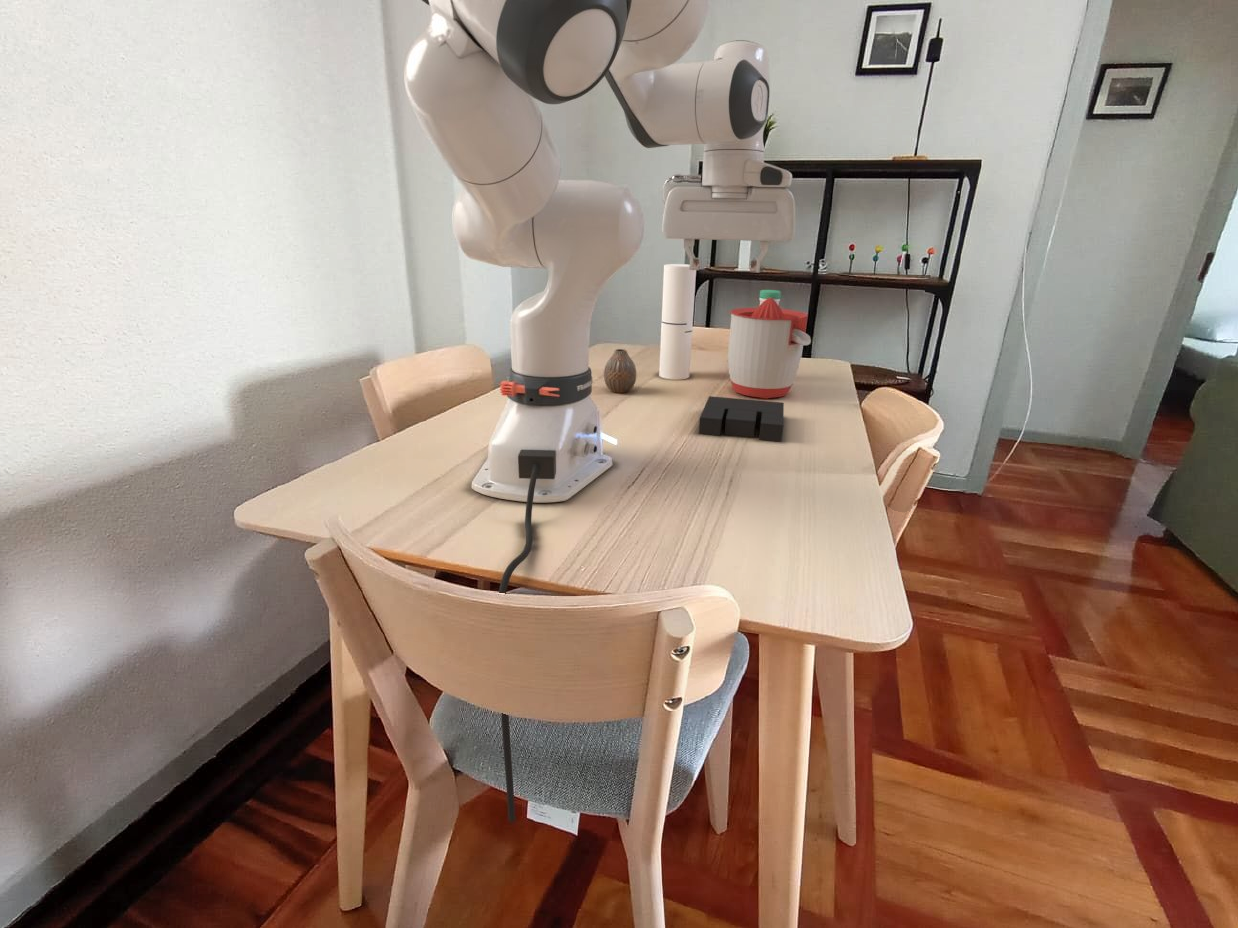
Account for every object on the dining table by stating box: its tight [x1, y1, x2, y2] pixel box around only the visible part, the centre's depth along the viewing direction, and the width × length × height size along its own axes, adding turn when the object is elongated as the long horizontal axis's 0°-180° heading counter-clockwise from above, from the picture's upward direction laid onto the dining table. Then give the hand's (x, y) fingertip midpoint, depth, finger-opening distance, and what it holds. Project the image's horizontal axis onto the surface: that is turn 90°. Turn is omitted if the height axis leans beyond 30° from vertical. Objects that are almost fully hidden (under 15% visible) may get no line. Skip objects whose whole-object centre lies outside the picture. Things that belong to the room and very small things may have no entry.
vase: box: [603, 348, 637, 394], centre depth 129 cm, size 7×7×9 cm
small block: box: [723, 409, 757, 439], centre depth 107 cm, size 6×5×3 cm
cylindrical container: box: [658, 263, 697, 381], centre depth 140 cm, size 7×7×25 cm
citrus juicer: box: [727, 298, 812, 400], centre depth 128 cm, size 16×17×20 cm
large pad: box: [698, 395, 785, 443], centre depth 110 cm, size 14×14×3 cm
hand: (724, 271), depth 96 cm, fingers open, 8 cm apart
